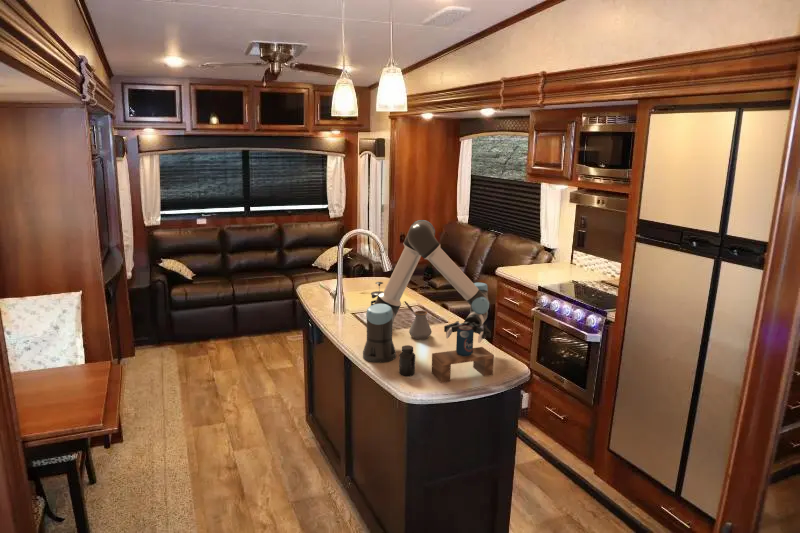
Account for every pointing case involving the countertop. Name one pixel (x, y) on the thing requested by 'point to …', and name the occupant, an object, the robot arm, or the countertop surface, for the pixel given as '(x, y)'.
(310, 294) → the countertop surface
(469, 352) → the soda can
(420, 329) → the coffee pot
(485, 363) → the bridge shelf
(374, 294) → the french press
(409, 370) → the supplement bottle
